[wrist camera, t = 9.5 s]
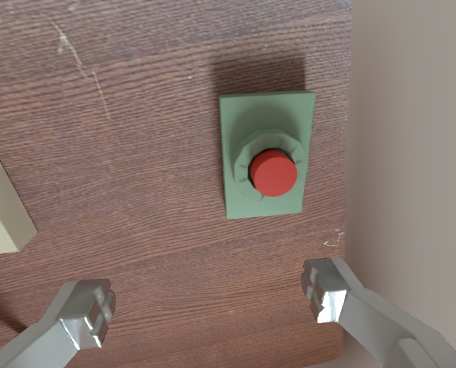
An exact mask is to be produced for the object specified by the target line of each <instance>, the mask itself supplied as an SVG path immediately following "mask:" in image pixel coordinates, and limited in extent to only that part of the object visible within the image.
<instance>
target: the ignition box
mask: <svg viewBox="0 0 456 368" xmlns="http://www.w3.org/2000/svg"><path fill="white" fill-rule="evenodd" d="M218 97H219V114H220V131H221V148H222V165H223V182H224V199H225V211H226V218H227V219H236V218H247V217H258V216H269V215H280V214H291V213H301V210H302V202H303V194H304V185H305V178H306V176H307V169H308V161H309V159H308V153H309V145H310V137H311V129H312V121H313V113H314V105H315V97H316V92H313V91H308V90H295V91H278V92H260V93H242V94H224V95H219V96H218ZM268 150H278V151H281V152H283V153H284V154H285V155H286V156H287V157H288V158H289V159H290V160H291V161H292V162H293V163H294V164H295V166H296V168H297V180H296V182H295V184H294V186H293V187H292V188H291V189H290V190H289V191H288V192H287V193H285V194H283V195H281V196H277V197H269V196H265V195H263V194H261V193H260V192H259V191H258V190H257V189H256V187H255V185H254V182H253V180H252V178H251V174H250V168H251V164H252V162H253V161H254V159H255V158H256V157H257V156H258V155H259V154H261V153H262V152H265V151H268Z"/></svg>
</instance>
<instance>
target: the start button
mask: <svg viewBox="0 0 456 368" xmlns="http://www.w3.org/2000/svg"><path fill="white" fill-rule="evenodd" d="M250 174H251V178H252V180H253V182H254V185H255V187H256V189H257V190H258V191H259V192H260V193H261V194H263V195H265V196H269V197H277V196H281V195H283V194H285V193H287V192H288V191H289V190H290V189H291V188H292V187H293V186H294V184H295V182H296V180H297V168H296V166H295V164H294V163H293V162H292V161H291V160H290V159H289V158H288V157H287V156H286V155H285V154H284V153H283V152H281V151H278V150H268V151H265V152H262V153H261V154H259V155H258V156H257V157H256V158H255V159H254V161H253V162H252V164H251V168H250Z"/></svg>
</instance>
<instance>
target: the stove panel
mask: <svg viewBox="0 0 456 368" xmlns="http://www.w3.org/2000/svg"><path fill="white" fill-rule="evenodd" d="M37 233H38V231H37V229H36V227H35V225H34V224H33V222H32V220H31V218H30V216H29V214H28V212H27V211H26V209H25V207H24V205H23V203H22V201H21V199H20V197H19V196H18V194H17V192H16V190H15V188H14V186H13V184H12V183H11V181H10V179H9V177H8V175H7V173H6V171H5V170H4V168H3V166H2V164H1V162H0V253H9V252H18V251H20V250H21V249H22V248H23V247H24V246H25V245H26V244H27V243H28V242H29V241H30V240H31V239H32V238H33V237H34V236H35V235H36V234H37Z"/></svg>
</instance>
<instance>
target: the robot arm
mask: <svg viewBox="0 0 456 368" xmlns="http://www.w3.org/2000/svg"><path fill="white" fill-rule="evenodd" d="M303 267H304V269H305V271H304V272H303V273H302V276H301V283H302V288H303V292H304V294H305V296H306V298H308V299H309V300H310V301H311V305H310V308H311V310H312V312H313V315H314V317H315V319H316V321H317V323H319V322H332V321H338V323H339V324H340V325H341V326H342V327H344V328H345V329H346V330H347V331H348V332H349V333H350V334H351V335H352V336H353V337H354V338H355V339H357V340H358V341H359V342H360V343H361V344H362V345H363V346H364V347H365V348H366V349H367V350H368V351H369V352H370V353H371V354H373V355H374V356H375V357H376V358H377V359H378V360H379V361H380V362H381V363H382V364H383V365H384V366H383V368H456V351H455V350H454V348H453V347H452V346H451V345H450V344H449V343H448V342H447V341H446V339H445V338H444V337H443V336H442V335H441V334H440V333H439V332H438V331H436V330H434V329H433V328H431V327H430V326H428V325H426V324H425V323H423V322H421V321H420V320H418V319H417V318H415V317H413V316H412V315H410V314H409V313H407V312H405V311H404V310H402V309H401V308H399V307H397V306H396V305H394V304H392V303H391V302H389V301H387V300H386V299H384V298H383V297H381V296H379V295H378V294H376V293H375V292H373V291H371V290H370V289H364V287H363V286H362V284H361V283H360V282H359V280H358V279H357V277H356V276H355V275H354V273H353V272H352V271H351V269H350V268H349V267H348V265H347V264H346V262H345V261H344V260H343V258H341V257H332V258H320V259H311V260H305V261H304V265H303ZM110 286H111V283H110V281H109V279H91V280H78V281H67V282H66V283H65V284H63V285H62V287H61V289H60V290H59V292H58V293H57V295H56V296H55V298H54V299H53V301H52V302H51V304H50V305H49V307H48V308H47V310H46V311H45V313H44V315H43V316H42V318H41V319H40V321H39V322H36V323H33V324H32V325H31V326H29V327H28V328H27V329H25V330H24V331H23V332H21V333H20V334H19V335H18V336H16V337H15V338H14V339H12V340H11V341H10V342H8V343H7V344H6V345H4V346H3V347H2V348H1V349H0V368H63V367H64V366H65V365H66V364H67V363H68V362H69V361H70V359H71V358H72V357H73V356H74V355H75V354H76V353H77V350H81V349H88V348H95V347H101V346H102V343H103V341H104V338H105V335H106V333H107V330H108V326H107V324H106V323H107V322H108V321H109V320H110V319H111V318H112V316H113V314H114V311H115V305H116V297H115V293H114V292H113V291H112V290H110V289H109V288H110Z"/></svg>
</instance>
